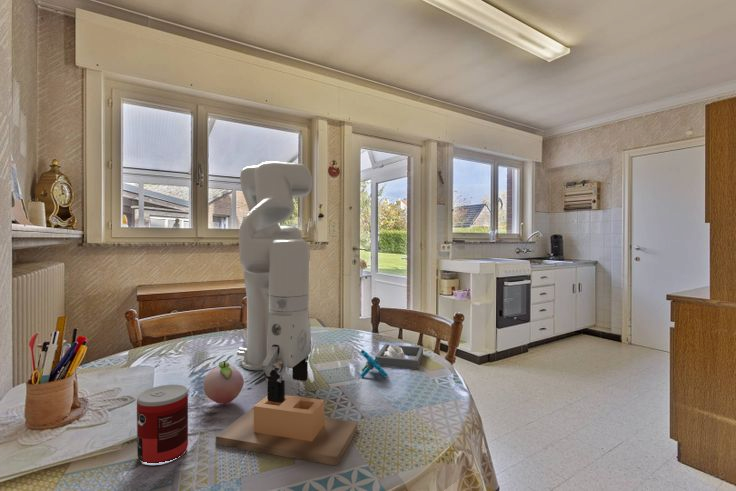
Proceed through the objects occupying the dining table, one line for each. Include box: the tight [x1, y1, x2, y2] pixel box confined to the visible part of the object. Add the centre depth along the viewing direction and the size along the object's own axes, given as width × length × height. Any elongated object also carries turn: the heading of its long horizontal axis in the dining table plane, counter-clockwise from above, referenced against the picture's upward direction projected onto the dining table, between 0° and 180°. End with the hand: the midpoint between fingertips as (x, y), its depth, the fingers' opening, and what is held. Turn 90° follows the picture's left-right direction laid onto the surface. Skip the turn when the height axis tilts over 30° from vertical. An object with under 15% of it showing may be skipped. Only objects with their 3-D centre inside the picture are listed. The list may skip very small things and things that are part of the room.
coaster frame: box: [374, 343, 424, 370], centre depth 114 cm, size 13×14×2 cm
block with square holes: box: [253, 394, 325, 441], centre depth 70 cm, size 12×6×5 cm, turn 75°
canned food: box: [136, 384, 189, 463], centre depth 64 cm, size 8×8×11 cm
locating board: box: [215, 406, 359, 467], centre depth 69 cm, size 24×12×5 cm, turn 75°
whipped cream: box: [383, 344, 405, 358], centre depth 115 cm, size 8×7×5 cm
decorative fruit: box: [202, 361, 245, 405], centre depth 83 cm, size 9×8×10 cm
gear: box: [360, 349, 388, 378], centre depth 101 cm, size 11×6×10 cm
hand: (288, 389), depth 70 cm, fingers open, 9 cm apart
